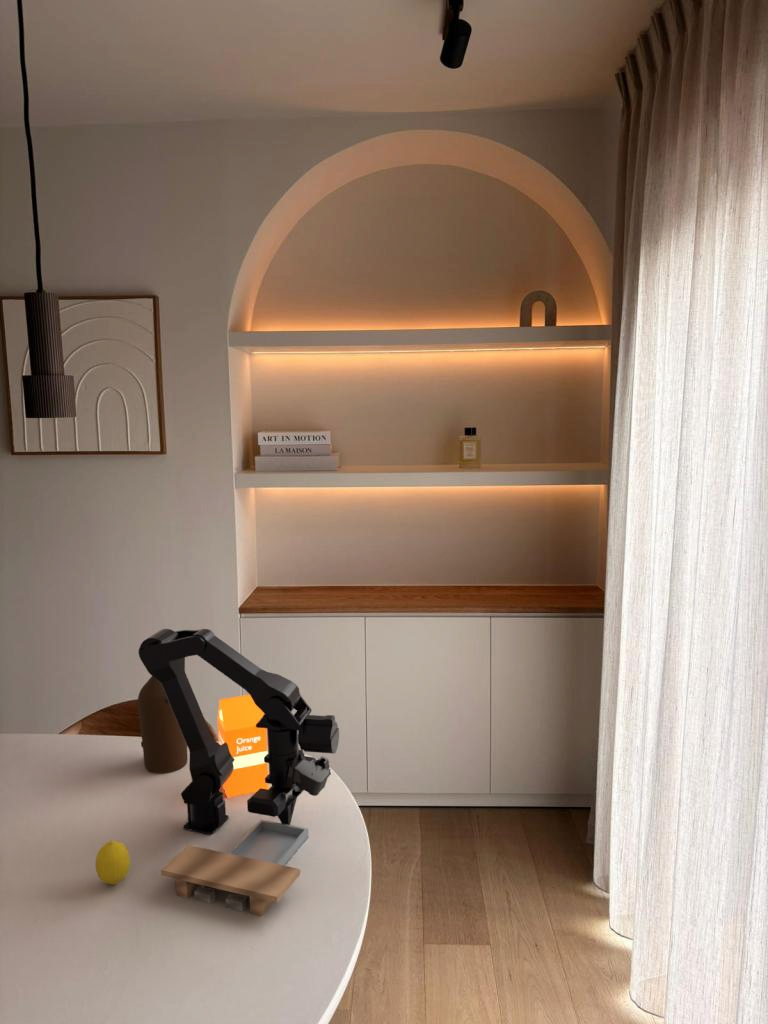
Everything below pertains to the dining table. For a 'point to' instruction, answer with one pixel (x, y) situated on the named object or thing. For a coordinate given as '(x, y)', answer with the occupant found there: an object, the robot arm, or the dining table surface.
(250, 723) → the orange juice
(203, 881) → the bridge
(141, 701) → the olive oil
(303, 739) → the robot arm
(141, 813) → the dining table surface
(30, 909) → the dining table surface
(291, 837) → the grey open tray
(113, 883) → the lemon
